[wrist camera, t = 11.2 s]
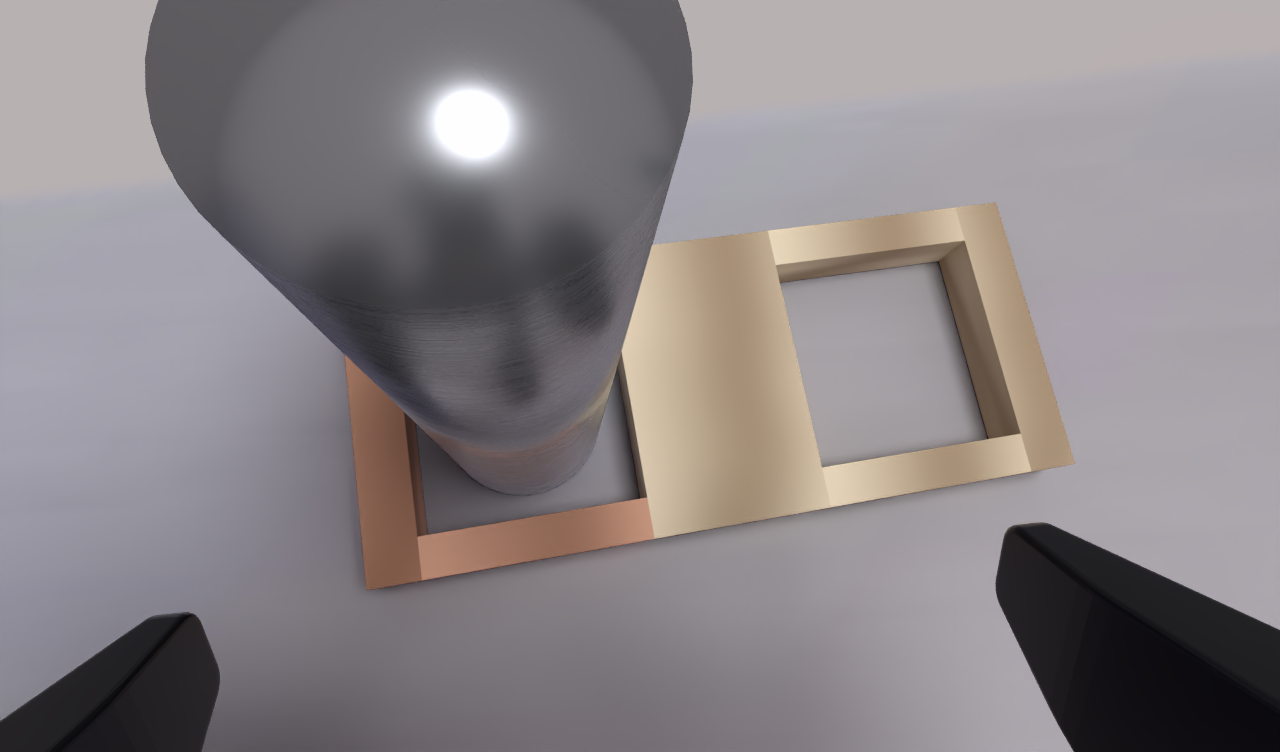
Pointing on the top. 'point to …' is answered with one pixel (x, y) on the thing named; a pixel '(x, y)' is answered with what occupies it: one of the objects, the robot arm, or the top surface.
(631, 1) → the steel pin
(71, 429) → the top surface
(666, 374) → the socket rail
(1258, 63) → the top surface
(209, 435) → the top surface
